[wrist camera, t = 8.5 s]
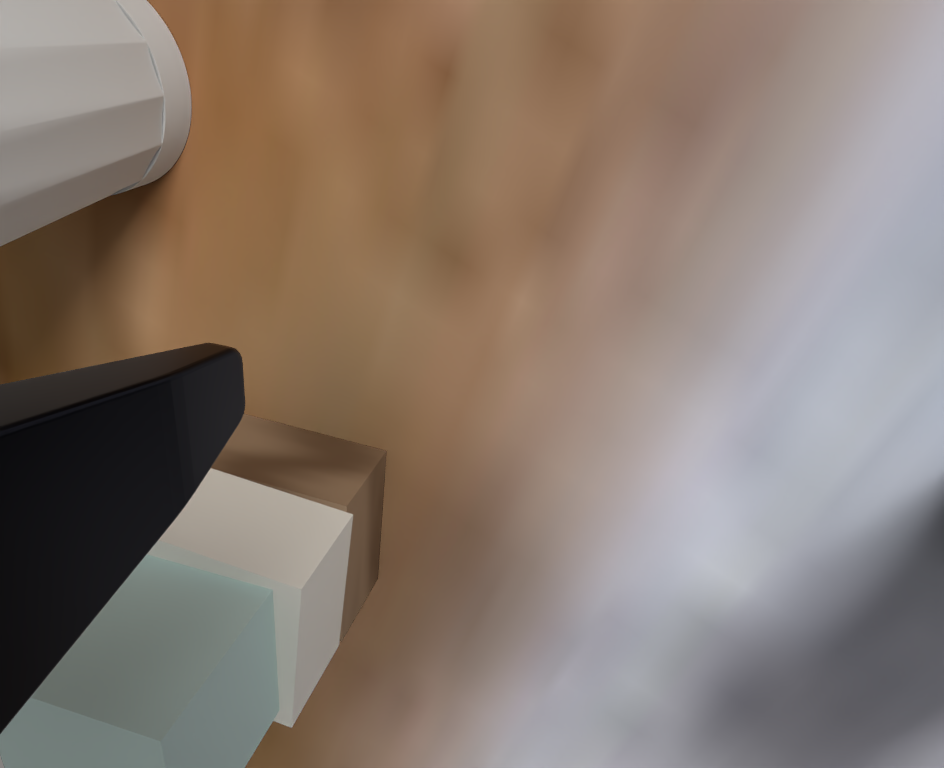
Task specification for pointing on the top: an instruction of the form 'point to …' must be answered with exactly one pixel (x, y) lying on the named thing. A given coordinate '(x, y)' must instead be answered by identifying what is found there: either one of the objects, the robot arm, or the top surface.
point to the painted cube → (158, 679)
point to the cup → (84, 106)
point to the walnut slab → (318, 487)
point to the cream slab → (272, 568)
